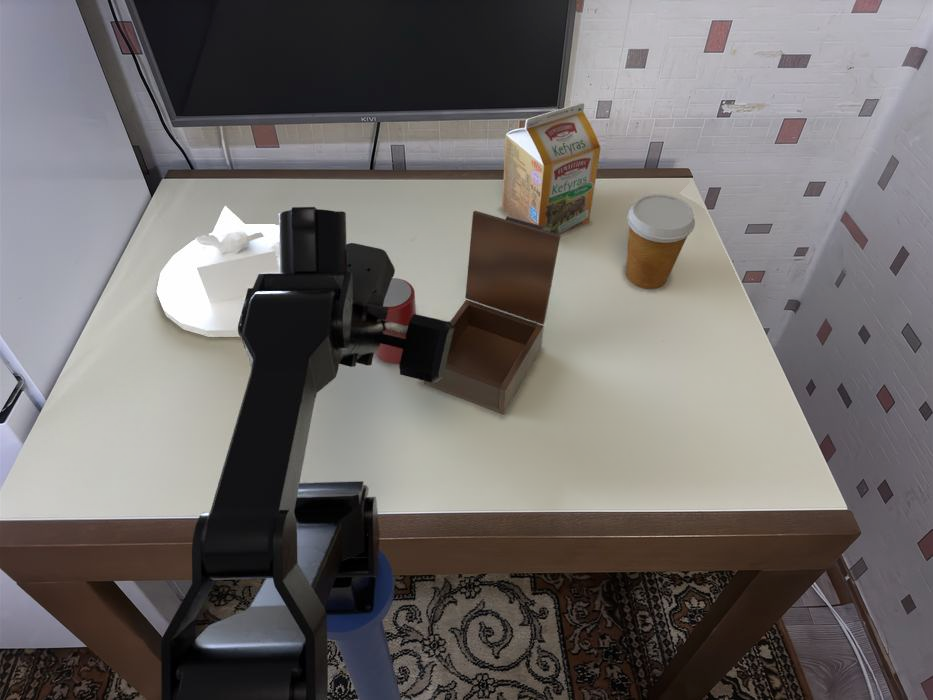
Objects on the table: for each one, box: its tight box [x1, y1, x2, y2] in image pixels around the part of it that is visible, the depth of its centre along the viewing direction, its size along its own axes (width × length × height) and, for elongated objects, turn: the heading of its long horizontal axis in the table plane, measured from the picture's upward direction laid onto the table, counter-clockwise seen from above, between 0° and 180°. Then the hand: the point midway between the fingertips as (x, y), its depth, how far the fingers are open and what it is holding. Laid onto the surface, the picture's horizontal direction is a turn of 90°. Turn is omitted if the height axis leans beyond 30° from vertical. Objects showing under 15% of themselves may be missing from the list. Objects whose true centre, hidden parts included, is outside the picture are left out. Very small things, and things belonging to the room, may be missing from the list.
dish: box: [156, 205, 280, 338], centre depth 99 cm, size 25×25×11 cm
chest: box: [423, 299, 544, 415], centre depth 90 cm, size 13×12×5 cm
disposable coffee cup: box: [625, 193, 696, 290], centre depth 100 cm, size 10×10×12 cm
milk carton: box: [501, 102, 602, 235], centre depth 108 cm, size 11×11×19 cm
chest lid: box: [465, 210, 561, 325], centre depth 89 cm, size 13×12×4 cm
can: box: [374, 277, 417, 364], centre depth 90 cm, size 6×6×10 cm
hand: (387, 333), depth 77 cm, fingers open, 9 cm apart
